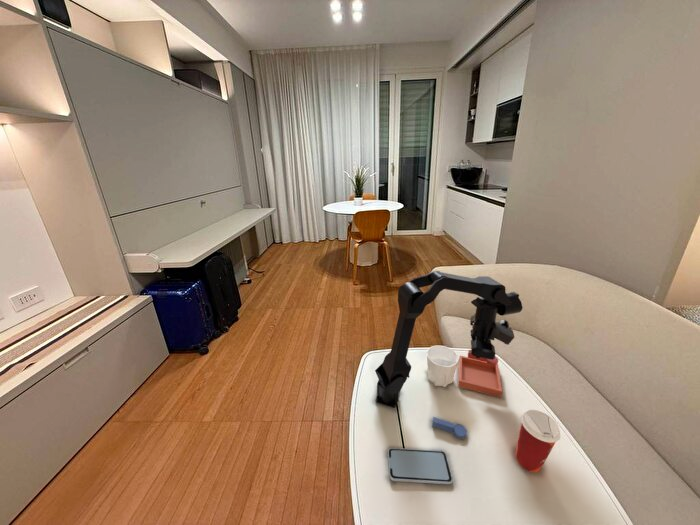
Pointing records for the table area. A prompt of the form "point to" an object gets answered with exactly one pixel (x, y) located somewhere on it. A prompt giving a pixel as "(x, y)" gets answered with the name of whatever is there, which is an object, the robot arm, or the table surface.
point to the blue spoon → (450, 427)
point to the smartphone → (419, 466)
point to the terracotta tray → (479, 376)
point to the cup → (441, 365)
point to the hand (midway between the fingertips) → (477, 356)
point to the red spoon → (483, 359)
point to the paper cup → (536, 439)
